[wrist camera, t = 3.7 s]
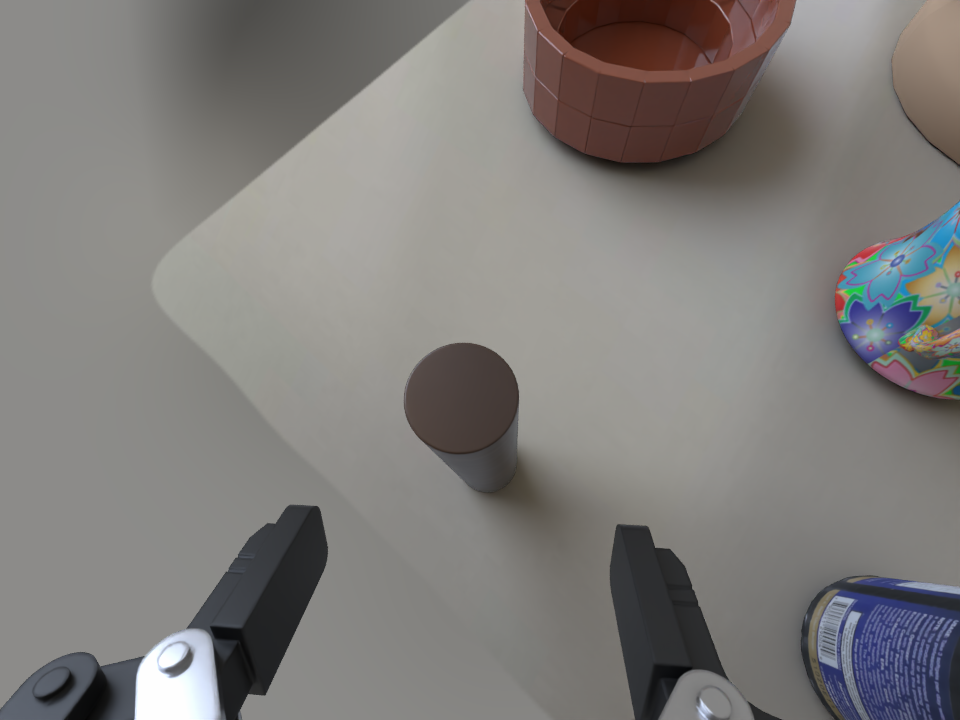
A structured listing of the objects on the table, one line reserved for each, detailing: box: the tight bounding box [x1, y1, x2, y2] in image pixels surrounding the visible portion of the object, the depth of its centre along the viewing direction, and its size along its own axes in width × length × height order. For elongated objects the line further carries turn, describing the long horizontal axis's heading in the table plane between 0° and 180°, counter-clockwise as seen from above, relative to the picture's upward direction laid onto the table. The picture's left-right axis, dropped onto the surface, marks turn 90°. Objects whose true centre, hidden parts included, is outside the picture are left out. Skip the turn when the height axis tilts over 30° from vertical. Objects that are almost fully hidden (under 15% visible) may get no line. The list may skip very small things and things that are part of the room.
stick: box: [404, 343, 519, 492], centre depth 17 cm, size 3×3×12 cm
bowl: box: [523, 0, 796, 163], centre depth 27 cm, size 14×14×6 cm
